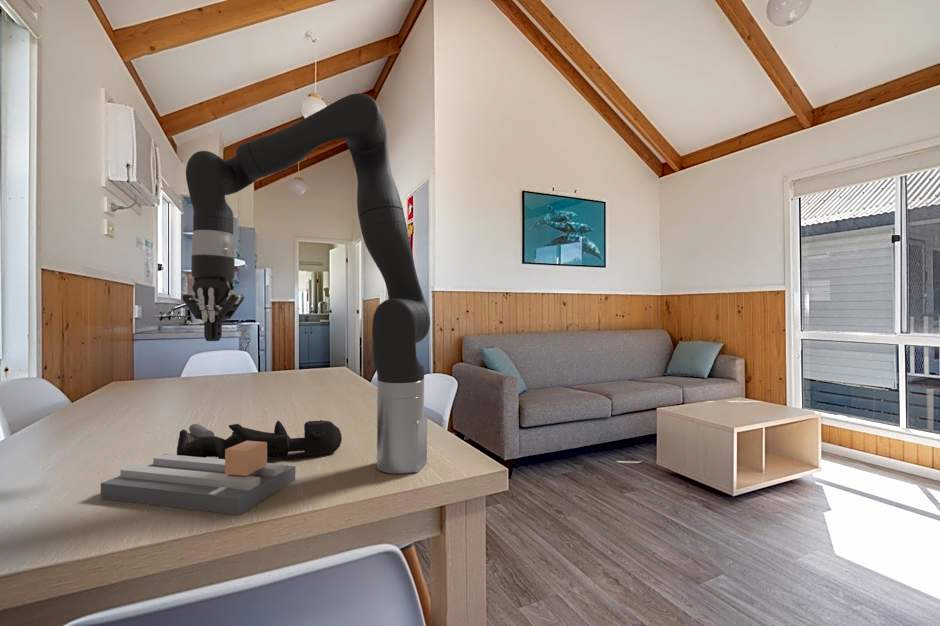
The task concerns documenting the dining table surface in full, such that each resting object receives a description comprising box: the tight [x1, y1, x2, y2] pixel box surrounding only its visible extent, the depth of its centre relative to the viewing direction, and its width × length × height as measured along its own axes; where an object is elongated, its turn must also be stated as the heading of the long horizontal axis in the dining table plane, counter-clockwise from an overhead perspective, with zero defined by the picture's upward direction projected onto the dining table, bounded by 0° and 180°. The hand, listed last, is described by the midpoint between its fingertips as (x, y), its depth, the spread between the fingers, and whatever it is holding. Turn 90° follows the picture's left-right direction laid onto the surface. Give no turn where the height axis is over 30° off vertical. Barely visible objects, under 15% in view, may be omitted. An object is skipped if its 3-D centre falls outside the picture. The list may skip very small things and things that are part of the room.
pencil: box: [188, 423, 215, 439], centre depth 105 cm, size 11×3×3 cm, turn 47°
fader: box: [225, 441, 268, 476], centre depth 73 cm, size 4×5×5 cm
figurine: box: [176, 419, 343, 461], centre depth 90 cm, size 8×30×8 cm, turn 108°
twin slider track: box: [100, 453, 296, 516], centre depth 74 cm, size 26×14×4 cm, turn 78°
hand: (212, 340), depth 87 cm, fingers closed
